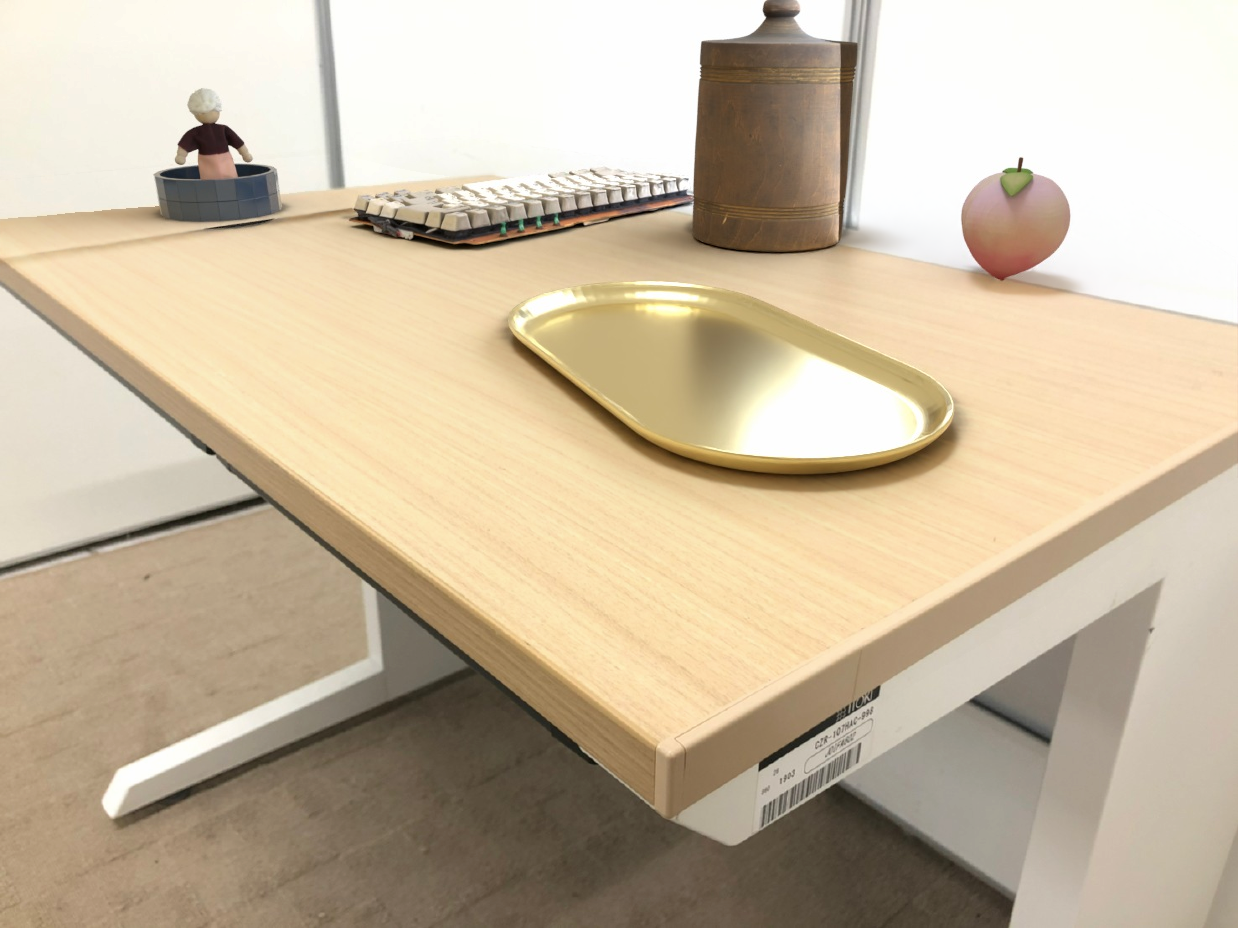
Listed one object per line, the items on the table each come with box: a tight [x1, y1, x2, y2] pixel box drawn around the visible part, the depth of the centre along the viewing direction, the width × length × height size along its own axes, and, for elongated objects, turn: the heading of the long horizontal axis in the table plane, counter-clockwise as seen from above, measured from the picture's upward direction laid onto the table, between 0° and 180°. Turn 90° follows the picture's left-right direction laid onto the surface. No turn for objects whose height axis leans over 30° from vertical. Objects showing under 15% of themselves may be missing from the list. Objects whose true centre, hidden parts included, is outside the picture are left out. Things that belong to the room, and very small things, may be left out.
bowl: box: [153, 162, 283, 230], centre depth 107 cm, size 12×12×5 cm
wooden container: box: [691, 0, 859, 253], centre depth 95 cm, size 15×15×22 cm
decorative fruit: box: [960, 156, 1071, 281], centre depth 82 cm, size 9×8×10 cm
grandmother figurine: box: [174, 87, 254, 179], centre depth 105 cm, size 8×4×13 cm, turn 134°
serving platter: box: [507, 280, 955, 475], centre depth 62 cm, size 19×35×2 cm, turn 25°
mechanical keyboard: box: [348, 166, 694, 246], centre depth 110 cm, size 38×19×3 cm, turn 139°
